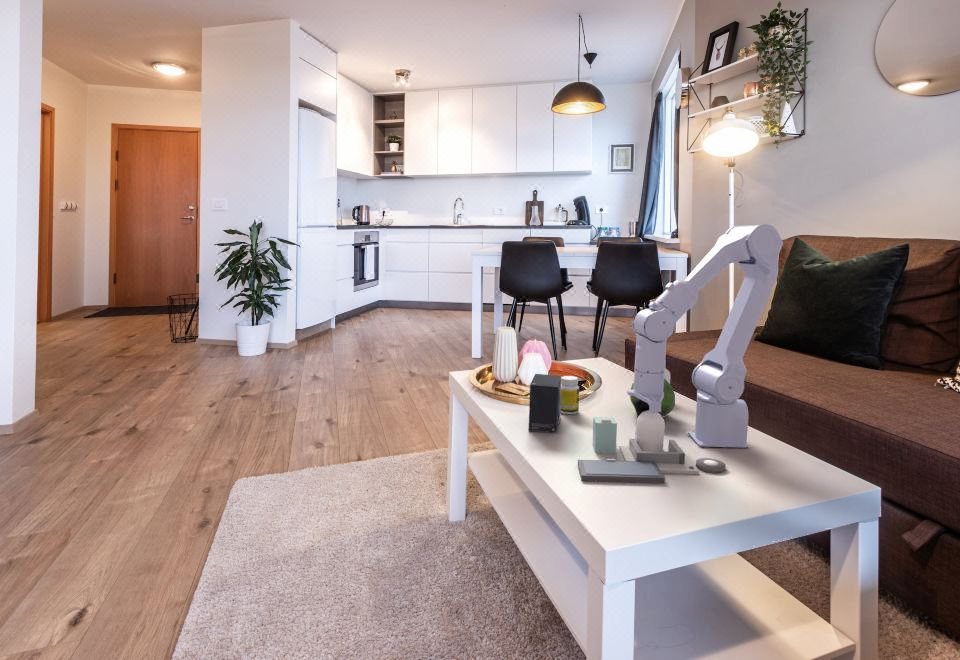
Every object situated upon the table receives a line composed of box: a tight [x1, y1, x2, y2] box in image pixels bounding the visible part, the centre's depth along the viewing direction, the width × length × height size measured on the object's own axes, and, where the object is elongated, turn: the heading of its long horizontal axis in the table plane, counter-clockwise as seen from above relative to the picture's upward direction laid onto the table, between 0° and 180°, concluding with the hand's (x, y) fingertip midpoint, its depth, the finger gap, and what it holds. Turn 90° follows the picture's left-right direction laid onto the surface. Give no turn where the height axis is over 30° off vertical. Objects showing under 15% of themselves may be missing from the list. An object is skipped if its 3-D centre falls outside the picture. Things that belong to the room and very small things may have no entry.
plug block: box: [592, 416, 618, 454], centre depth 112 cm, size 4×4×7 cm
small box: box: [528, 373, 562, 434], centre depth 127 cm, size 11×6×10 cm, turn 168°
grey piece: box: [618, 438, 700, 475], centre depth 107 cm, size 12×12×2 cm
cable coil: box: [695, 457, 727, 474], centre depth 104 cm, size 5×5×1 cm
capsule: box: [634, 410, 666, 452], centre depth 111 cm, size 5×5×8 cm
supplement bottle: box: [560, 375, 580, 415], centre depth 136 cm, size 5×5×8 cm
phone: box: [577, 458, 666, 484], centre depth 101 cm, size 14×7×1 cm, turn 86°
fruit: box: [629, 379, 676, 418], centre depth 134 cm, size 15×10×10 cm, turn 172°
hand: (645, 435), depth 115 cm, fingers closed, pressing on capsule
